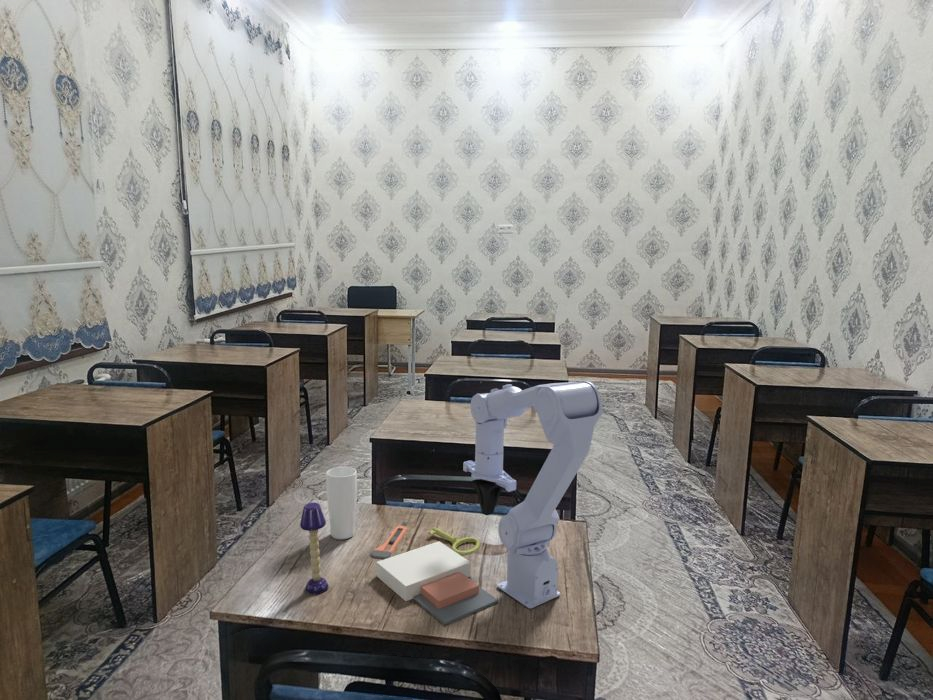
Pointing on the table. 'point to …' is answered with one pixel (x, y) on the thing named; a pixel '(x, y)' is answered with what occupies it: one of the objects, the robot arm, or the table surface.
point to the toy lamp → (314, 545)
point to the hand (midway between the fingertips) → (487, 513)
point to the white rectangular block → (420, 568)
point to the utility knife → (397, 534)
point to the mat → (457, 606)
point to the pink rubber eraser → (449, 590)
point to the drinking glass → (341, 501)
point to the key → (456, 541)
